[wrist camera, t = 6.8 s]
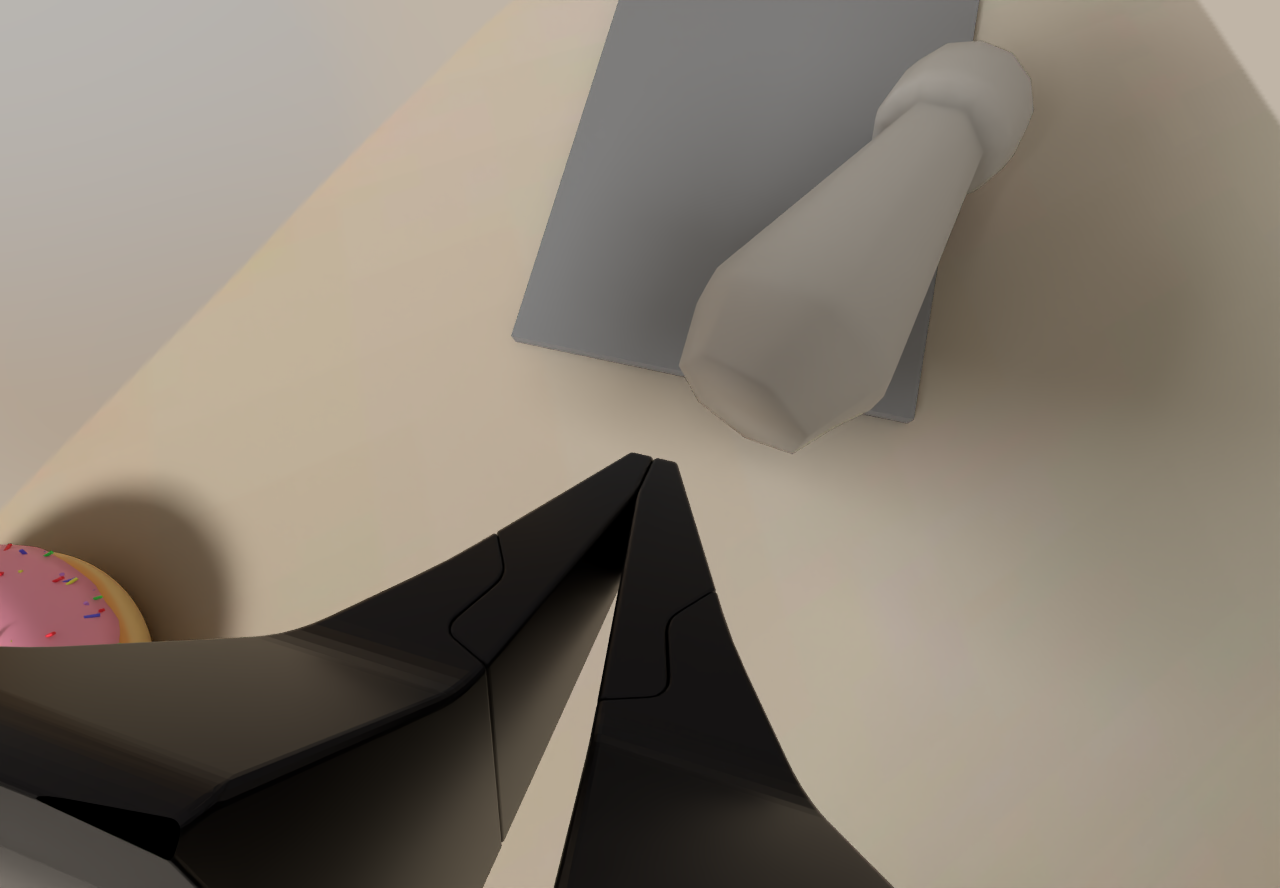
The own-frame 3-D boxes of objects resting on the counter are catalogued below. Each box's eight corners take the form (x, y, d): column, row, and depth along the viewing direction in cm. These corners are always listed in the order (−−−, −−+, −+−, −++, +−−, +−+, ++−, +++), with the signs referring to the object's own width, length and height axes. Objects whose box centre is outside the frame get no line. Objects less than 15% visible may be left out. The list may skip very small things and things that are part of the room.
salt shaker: (807, 489, 16) (999, 207, 19) (878, 434, 11) (1136, 44, 13) (658, 389, 17) (856, 137, 20) (652, 293, 12) (927, -38, 14)
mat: (907, 423, 17) (913, 419, 17) (516, 341, 19) (511, 335, 18) (974, -4, 20) (982, -18, 20) (635, -37, 22) (634, -50, 22)
